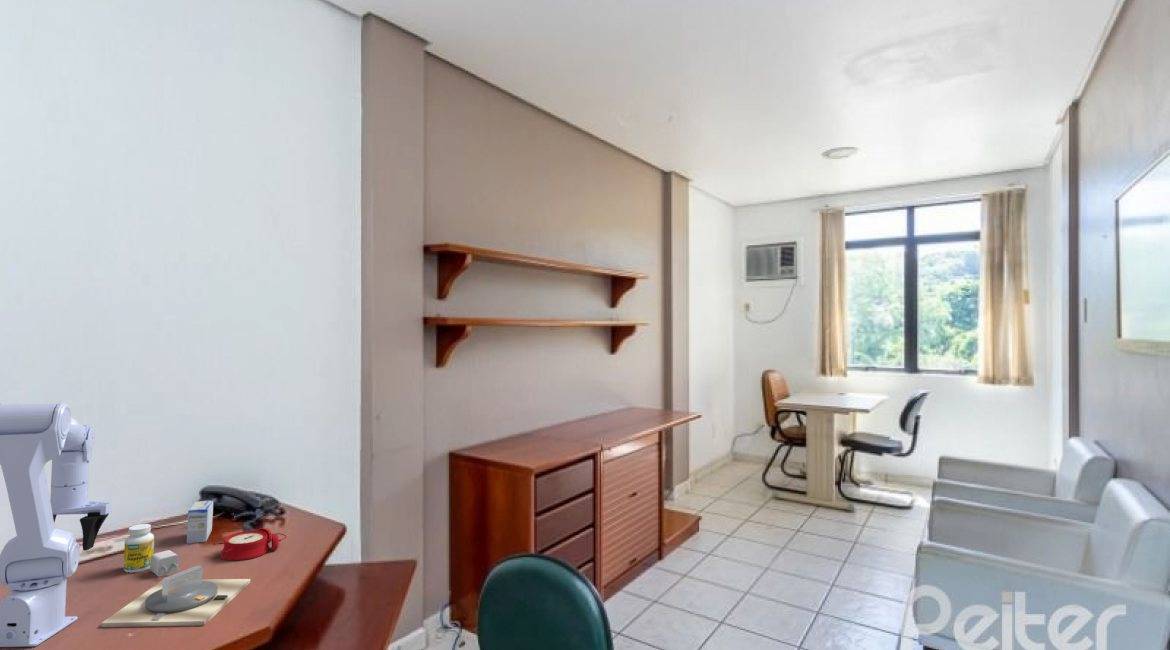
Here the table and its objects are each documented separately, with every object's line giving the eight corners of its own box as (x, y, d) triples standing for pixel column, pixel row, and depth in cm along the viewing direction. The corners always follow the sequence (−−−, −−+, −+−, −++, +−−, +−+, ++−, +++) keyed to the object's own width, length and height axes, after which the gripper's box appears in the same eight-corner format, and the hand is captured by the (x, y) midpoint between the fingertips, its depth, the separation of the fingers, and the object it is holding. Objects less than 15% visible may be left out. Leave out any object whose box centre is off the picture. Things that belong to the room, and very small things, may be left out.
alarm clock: (209, 540, 139) (272, 512, 151) (214, 563, 140) (276, 534, 152) (225, 551, 133) (290, 522, 144) (231, 575, 134) (294, 544, 145)
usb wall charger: (170, 566, 132) (171, 549, 132) (182, 575, 128) (183, 557, 128) (150, 572, 128) (150, 554, 129) (161, 581, 124) (162, 562, 124)
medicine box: (192, 533, 152) (193, 501, 152) (212, 531, 154) (213, 499, 154) (186, 544, 145) (187, 510, 145) (206, 542, 147) (208, 508, 147)
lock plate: (204, 625, 107) (204, 618, 107) (101, 627, 105) (101, 620, 105) (250, 582, 125) (250, 577, 125) (162, 583, 123) (163, 577, 123)
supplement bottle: (154, 561, 134) (155, 521, 134) (152, 570, 129) (153, 528, 129) (124, 566, 131) (126, 524, 131) (121, 575, 126) (123, 532, 126)
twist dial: (231, 591, 119) (232, 566, 119) (172, 617, 107) (173, 590, 108) (190, 580, 123) (191, 556, 123) (130, 605, 112) (131, 578, 112)
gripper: (121, 477, 122) (119, 540, 122) (43, 478, 119) (40, 543, 119) (100, 487, 115) (97, 553, 115) (16, 488, 112) (13, 556, 112)
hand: (67, 549), depth 117 cm, fingers open, 7 cm apart
